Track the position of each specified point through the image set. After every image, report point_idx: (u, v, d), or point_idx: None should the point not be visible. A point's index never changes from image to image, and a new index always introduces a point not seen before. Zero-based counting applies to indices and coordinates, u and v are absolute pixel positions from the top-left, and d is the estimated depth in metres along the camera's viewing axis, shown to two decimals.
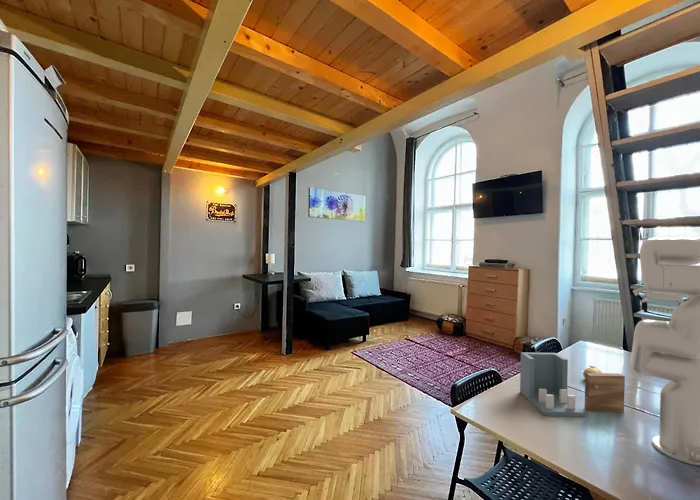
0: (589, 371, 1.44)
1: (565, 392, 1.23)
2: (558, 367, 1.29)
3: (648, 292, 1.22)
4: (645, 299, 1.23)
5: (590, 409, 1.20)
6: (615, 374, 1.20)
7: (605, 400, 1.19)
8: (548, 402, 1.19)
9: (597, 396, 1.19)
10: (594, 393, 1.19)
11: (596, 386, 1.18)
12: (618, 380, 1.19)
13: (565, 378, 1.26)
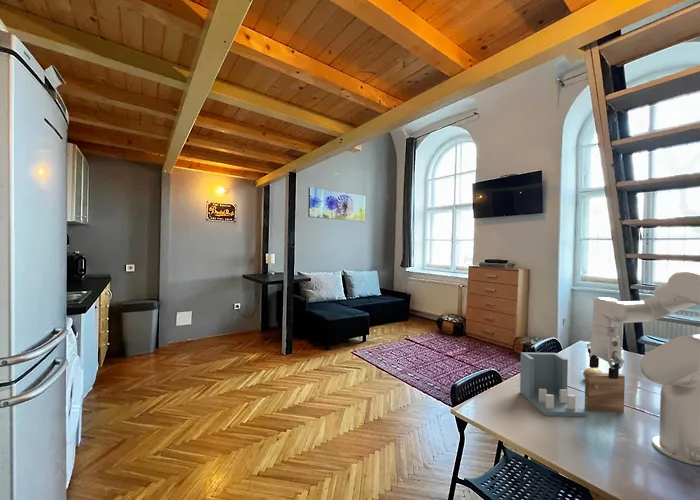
0: (589, 371, 1.44)
1: (565, 392, 1.23)
2: (558, 367, 1.29)
3: None
4: None
5: (590, 409, 1.20)
6: None
7: (605, 400, 1.19)
8: (548, 402, 1.19)
9: (597, 396, 1.19)
10: (594, 393, 1.19)
11: (596, 386, 1.18)
12: (618, 380, 1.19)
13: (565, 378, 1.26)
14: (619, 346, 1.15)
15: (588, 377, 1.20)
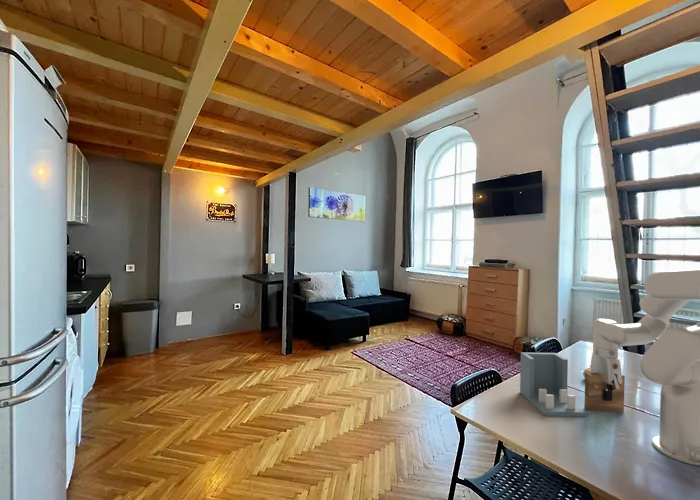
0: (589, 371, 1.44)
1: (565, 392, 1.23)
2: (558, 367, 1.29)
3: None
4: None
5: (590, 409, 1.20)
6: None
7: None
8: (548, 402, 1.19)
9: (597, 395, 1.19)
10: (594, 393, 1.19)
11: (596, 386, 1.18)
12: None
13: (565, 378, 1.26)
14: (619, 369, 1.15)
15: (588, 377, 1.20)
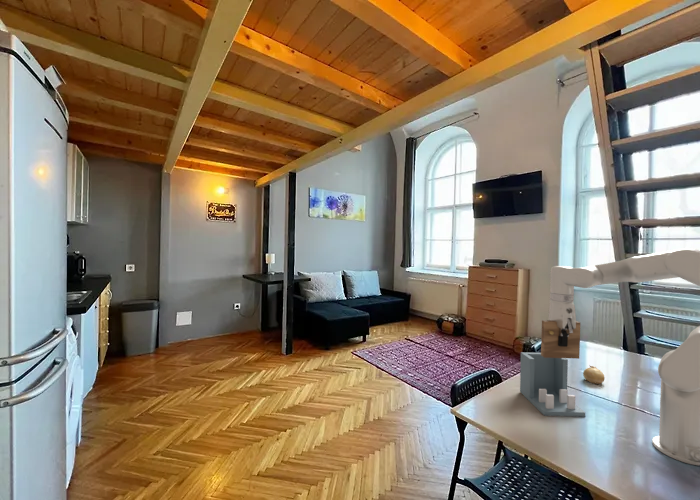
0: (589, 371, 1.44)
1: (565, 392, 1.23)
2: (558, 367, 1.29)
3: None
4: None
5: (545, 355, 1.20)
6: None
7: (560, 347, 1.20)
8: (548, 402, 1.19)
9: (552, 342, 1.20)
10: (549, 339, 1.20)
11: (551, 332, 1.19)
12: None
13: (565, 378, 1.26)
14: (573, 313, 1.15)
15: (544, 324, 1.20)
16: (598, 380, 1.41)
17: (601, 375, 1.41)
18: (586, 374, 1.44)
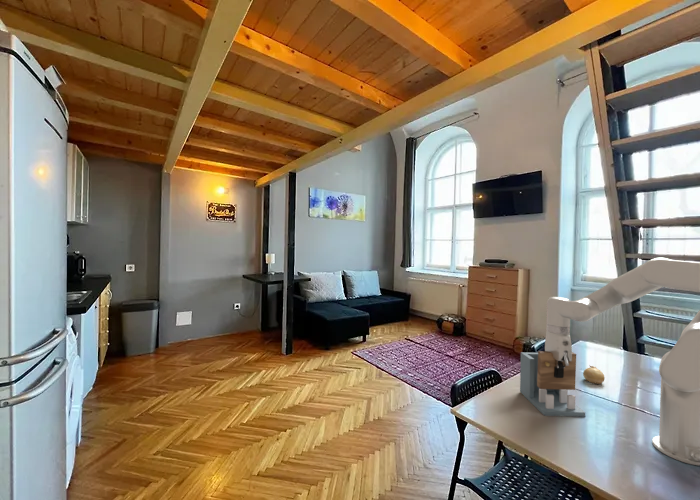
0: (589, 371, 1.44)
1: (565, 392, 1.23)
2: None
3: None
4: None
5: (542, 387, 1.20)
6: None
7: (556, 378, 1.20)
8: (548, 402, 1.19)
9: (548, 373, 1.20)
10: (546, 371, 1.20)
11: (547, 364, 1.19)
12: None
13: None
14: (570, 345, 1.16)
15: (540, 355, 1.21)
16: (598, 380, 1.41)
17: (601, 375, 1.41)
18: (586, 374, 1.44)
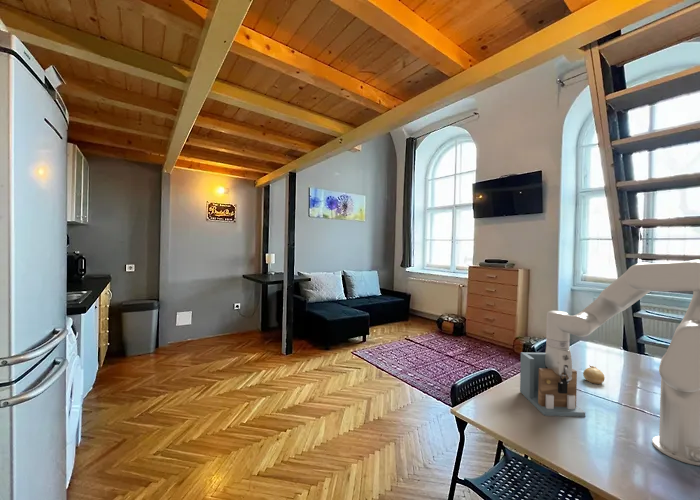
0: (589, 371, 1.44)
1: None
2: None
3: None
4: None
5: (543, 404, 1.20)
6: None
7: (557, 395, 1.20)
8: (548, 402, 1.19)
9: (549, 391, 1.20)
10: (546, 388, 1.20)
11: (548, 381, 1.19)
12: None
13: None
14: (570, 360, 1.16)
15: (541, 372, 1.21)
16: (598, 380, 1.41)
17: (601, 375, 1.41)
18: (586, 374, 1.44)
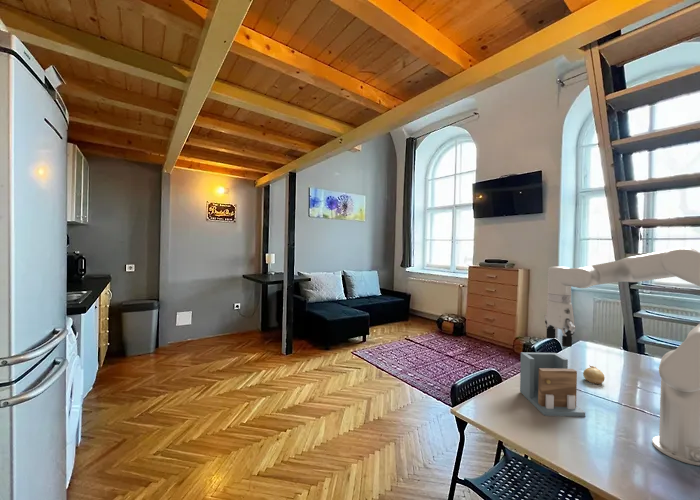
0: (589, 371, 1.44)
1: None
2: (558, 367, 1.29)
3: None
4: None
5: (543, 404, 1.20)
6: (568, 369, 1.21)
7: (557, 395, 1.20)
8: (548, 402, 1.19)
9: (549, 391, 1.20)
10: (546, 388, 1.20)
11: (548, 381, 1.19)
12: (570, 375, 1.19)
13: None
14: (571, 313, 1.15)
15: (541, 372, 1.21)
16: (598, 380, 1.41)
17: (601, 375, 1.41)
18: (586, 374, 1.44)
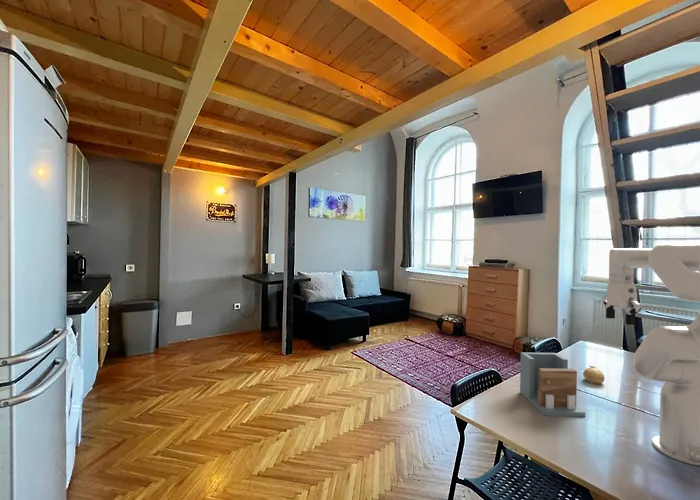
0: (589, 371, 1.44)
1: None
2: (558, 367, 1.29)
3: None
4: None
5: (543, 404, 1.20)
6: (568, 369, 1.21)
7: (557, 395, 1.20)
8: (548, 402, 1.19)
9: (549, 391, 1.20)
10: (546, 388, 1.20)
11: (548, 381, 1.19)
12: (570, 375, 1.19)
13: None
14: (635, 293, 1.20)
15: (541, 372, 1.21)
16: (598, 380, 1.41)
17: (601, 375, 1.41)
18: (586, 374, 1.44)
